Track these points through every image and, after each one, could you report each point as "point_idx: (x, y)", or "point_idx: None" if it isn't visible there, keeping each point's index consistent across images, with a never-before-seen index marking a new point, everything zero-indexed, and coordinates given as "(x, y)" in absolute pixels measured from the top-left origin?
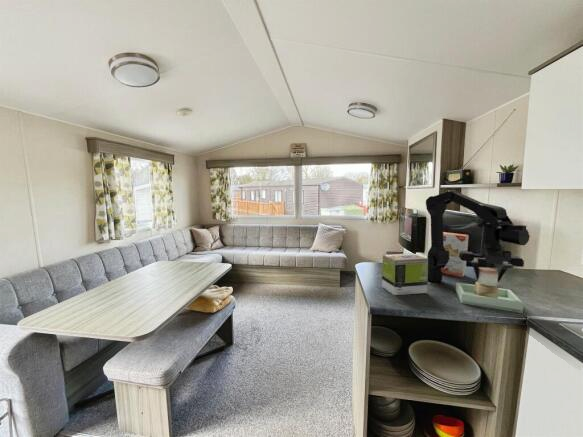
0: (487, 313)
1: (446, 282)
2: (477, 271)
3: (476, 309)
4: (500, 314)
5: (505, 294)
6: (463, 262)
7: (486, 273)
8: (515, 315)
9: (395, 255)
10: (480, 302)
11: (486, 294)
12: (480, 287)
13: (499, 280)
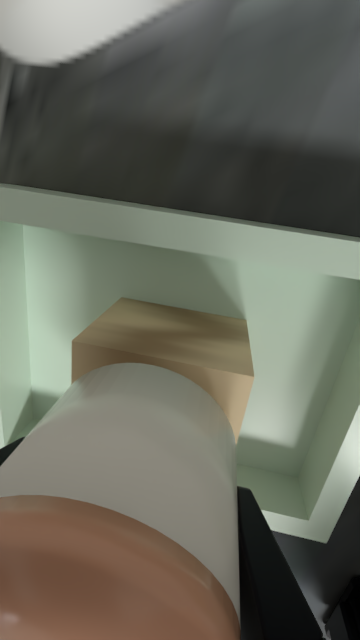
0: (277, 58)
1: (302, 587)
2: (285, 628)
3: (336, 128)
4: (173, 83)
5: (32, 427)
6: None
7: (156, 530)
8: (68, 112)
9: None
10: (269, 225)
11: (186, 328)
12: (238, 367)
13: (5, 448)
